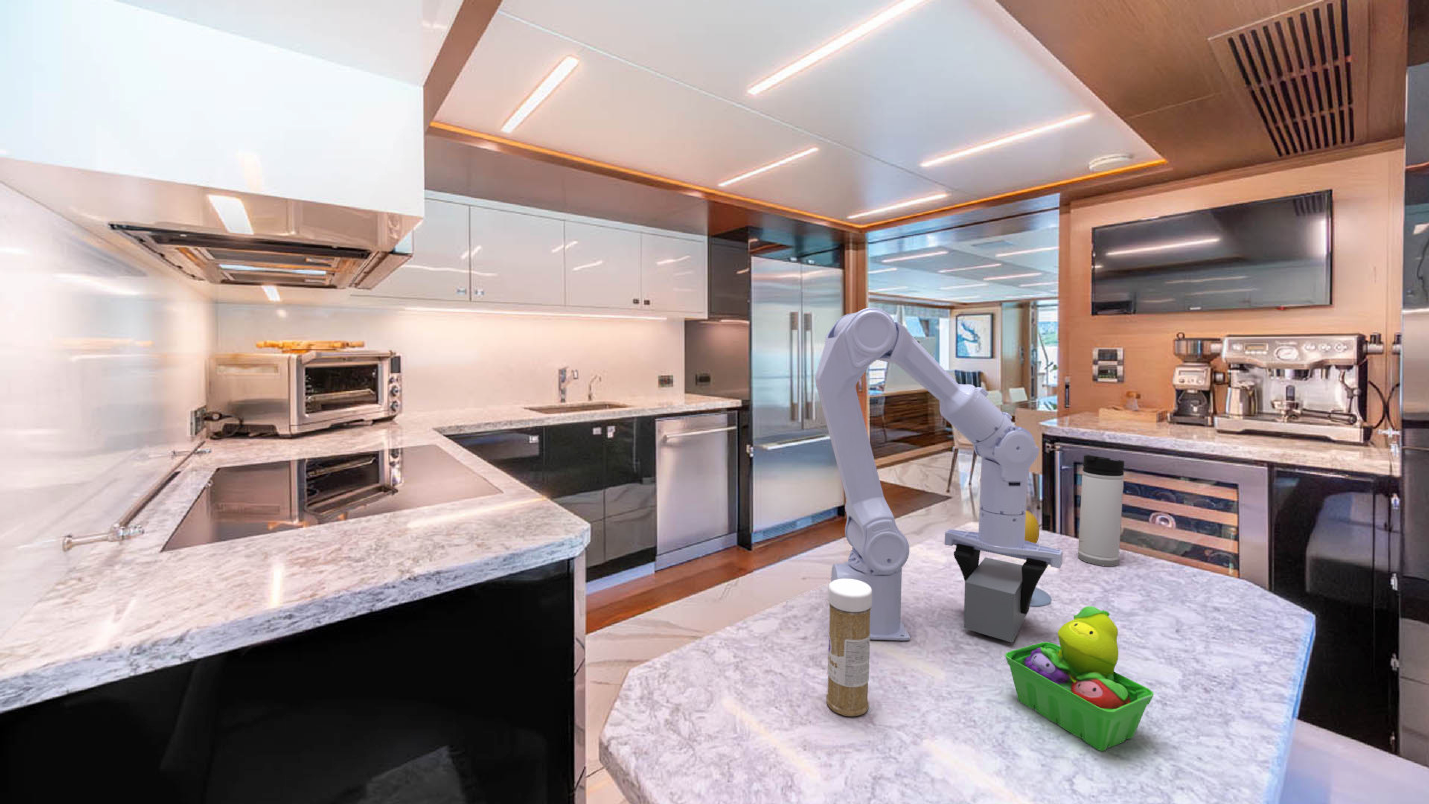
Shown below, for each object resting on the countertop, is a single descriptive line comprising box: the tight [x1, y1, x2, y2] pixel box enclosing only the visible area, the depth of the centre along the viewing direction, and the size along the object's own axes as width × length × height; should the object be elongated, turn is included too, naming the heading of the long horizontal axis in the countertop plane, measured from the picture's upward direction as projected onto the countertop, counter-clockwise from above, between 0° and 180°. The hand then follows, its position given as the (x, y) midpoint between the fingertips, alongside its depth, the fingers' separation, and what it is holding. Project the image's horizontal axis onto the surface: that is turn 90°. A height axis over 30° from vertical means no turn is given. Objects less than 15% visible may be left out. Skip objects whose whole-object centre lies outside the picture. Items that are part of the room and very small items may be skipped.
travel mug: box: [1077, 454, 1125, 567], centre depth 102 cm, size 6×7×20 cm
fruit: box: [1024, 509, 1040, 544], centre depth 109 cm, size 9×8×8 cm
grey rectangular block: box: [963, 556, 1028, 643], centre depth 77 cm, size 11×6×7 cm, turn 140°
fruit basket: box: [1004, 605, 1154, 752], centre depth 58 cm, size 11×9×11 cm
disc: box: [1030, 587, 1052, 607], centre depth 88 cm, size 9×9×1 cm
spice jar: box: [826, 579, 872, 717], centre depth 59 cm, size 5×5×14 cm
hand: (998, 604), depth 78 cm, fingers closed on grey rectangular block, 6 cm apart
